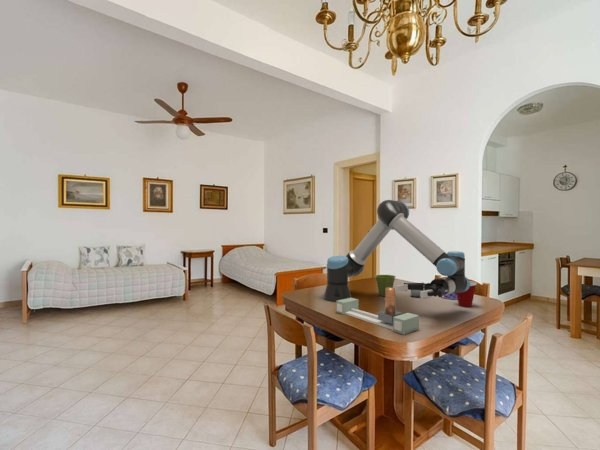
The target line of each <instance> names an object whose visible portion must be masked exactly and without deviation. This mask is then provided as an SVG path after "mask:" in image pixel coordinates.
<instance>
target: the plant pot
mask: <svg viewBox="0 0 600 450" xmlns="http://www.w3.org/2000/svg"><path fill="white" fill-rule="evenodd" d="M374 277H375V280H376V284H377V290H378V295H379V296H381V297H385V288H387V287H391V288H394V282H395V279H396V276H395V275H392V274H376V275H374Z"/></svg>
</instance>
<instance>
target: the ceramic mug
mask: <svg viewBox="0 0 600 450" xmlns="http://www.w3.org/2000/svg"><path fill="white" fill-rule="evenodd" d="M423 290H425V289H424V288H423ZM420 291H421V290H410V297H414V298H415V297H416V298H417V297H418V298H419V297H420Z"/></svg>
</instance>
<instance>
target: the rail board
mask: <svg viewBox="0 0 600 450" xmlns="http://www.w3.org/2000/svg"><path fill="white" fill-rule="evenodd" d="M359 300H360V299H357V298H354V297H351V298H347V299H342V300H337V301H335V302H336V303H335V305H336V306H335V307H336V308H335V309H336V311H335V312H336V313H338V314H340V315H344V316H345V315H346V316H349V317H352V318H356V319H357V320H358V319H359V320H361V321H365V322H367V323H371V324H374V325H376V326H380V327H383V328H385V329H389V330H392V331H393V332H394V333H398V334H400V335H403V336H404V335H407V334H411V333H414V332H416V331H419V330H420V315H418V314H415V313H410V312H406V313H403V314H402V315H399V316H395V317H393V323H389V322H386V321H382V320H379V319H378V314H374V313H371V312H367V311H364V310H360V309H359V308H360V307H359V304H360V303H359V302H360V301H359Z"/></svg>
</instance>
